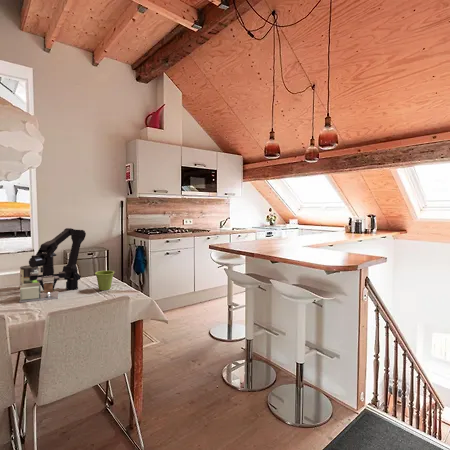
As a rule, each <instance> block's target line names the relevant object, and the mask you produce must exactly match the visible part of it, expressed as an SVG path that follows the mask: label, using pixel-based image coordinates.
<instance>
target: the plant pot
mask: <svg viewBox="0 0 450 450" xmlns="http://www.w3.org/2000/svg"><path fill="white" fill-rule="evenodd" d="M114 274H115V270H99V271H96V272H95V277H96V280H97V285H98V286H97V287H98V290H99V291H102V290H106V291H108V289H110V288H112V281H113V278H114ZM110 290H111V289H110Z"/></svg>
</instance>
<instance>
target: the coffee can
mask: <svg viewBox="0 0 450 450" xmlns="http://www.w3.org/2000/svg"><path fill="white" fill-rule="evenodd" d="M39 267H40V266H38V267H34V268H32V267H30V265H29V264H28V265H22V266H20V267H19V269H20V271H19V272H20V287H21V286H22V285H23V284H27V283H38V282H37V279H36V280H33V281H29V277H30V275H31V274H38V275H40V274H39V273H40V272H39Z"/></svg>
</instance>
